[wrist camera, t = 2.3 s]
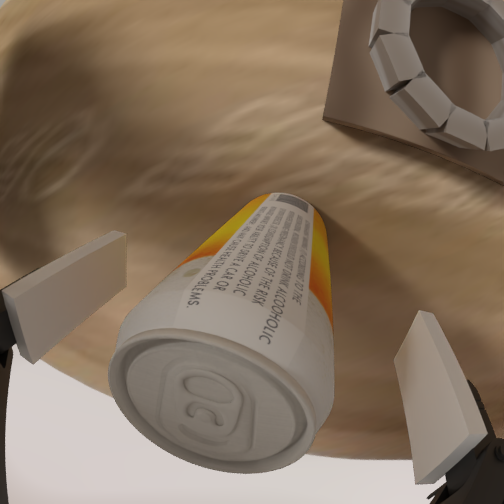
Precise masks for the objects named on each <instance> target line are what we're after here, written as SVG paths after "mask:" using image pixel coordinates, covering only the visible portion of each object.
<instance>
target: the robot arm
mask: <svg viewBox="0 0 504 504" xmlns="http://www.w3.org/2000/svg"><path fill="white" fill-rule="evenodd" d="M126 247H127V234H126V233H122V232H119V231H115V230H113V231H111V232H109V233H107V234H105V235H103V236H101V237H99V238H97V239H95V240H93V241H91V242H89V243H87V244H85V245H83V246H81V247H79V248H77V249H75V250H73V251H71V252H69V253H67V254H66V255H64V256H62V257H60V258H58V259H56V260H54V261H52V262H51V263H49V264H47V265H45V266H43V267H40V268H38V269H36V270H34V271H32V272H30V273H29V275H28V274H27V275H25V276H23V277H22V279H18V280H16V281H15V282H13V283H11V284H10V285H8V286H6V287H5V288H3V289H1V290H0V504H9V503H8V494H7V484H6V467H5V424H6V408H7V397H8V387H9V379H10V371H11V365H12V359H13V350H12V346H13V345H14V344H16V343H17V346H18V349H19V352H20V355H21V356H22V357H24V358H25V359H26V360H28V361H29V362H30V363H32V364H35V363H36V362H37V361H38V360H39V359H40V358H41V357H42V356H44V355H45V354H46V353H47V352H48V351H49V350H50V349H52V348H53V347H54V346H55V345H56V344H57V343H59V342H60V341H61V340H62V339H63V338H64V337H66V336H67V335H68V334H69V333H70V332H71V331H73V330H74V329H75V328H76V327H77V326H79V325H80V324H81V323H82V322H83V321H85V320H86V319H87V318H88V317H89V316H91V315H92V314H93V313H94V312H95V311H97V310H98V309H99V308H100V307H102V306H103V305H104V304H105V303H107V302H108V301H109V300H110V299H111V298H113V297H114V296H115V295H116V294H118V293H119V292H120V291H121V290H123V289H124V288H125V287H126ZM393 361H394V365H395V369H396V373H397V377H398V382H399V386H400V391H401V396H402V401H403V406H404V411H405V416H406V422H407V427H408V433H409V439H410V446H411V453H412V460H413V468H414V476H415V484H434V483H435V482H436V481H437V480H439V479H440V478H441V477H442V476H444V475H445V476H446V481H447V482H446V483H444V484H443V485H442V486H441V487H439V488H438V489H437V490H435V491H434V492H433V493H431V494H430V495H429V496H428V497H427V499H430V498H431V497H433V496H434V495H435V497H434V498H433V500H432V501H431V503H430V504H504V439H502V438H496V436H495V433H494V430H493V428H492V425H491V422H490V420H489V417H488V415H487V412H486V410H484V408H485V407H484V405H483V403H482V402H481V398H480V396H479V393H478V391H477V389H476V388H475V387H474V385H473V384H472V383H471V382H470V381H469V380H466V378H465V376H464V374H463V371H462V369H461V367H460V365H459V363H458V361H457V359H456V357H455V354H454V352H453V350H452V348H451V346H450V344H449V342H448V340H447V338H446V337H445V335H444V333H443V331H442V329H441V327H440V325H439V323H438V321H437V319H436V318H435V316H434V314H433V313H430V312H425V311H421V310H419V311H418V313H417V315H416V317H415V319H414V321H413V323H412V325H411V327H410V329H409V331H408V333H407V335H406V337H405V339H404V341H403V343H402V345H401V347H400V349H399V350H398V352H397V354H396V356H395V358H394V360H393Z"/></svg>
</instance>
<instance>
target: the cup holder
mask: <svg viewBox="0 0 504 504" xmlns="http://www.w3.org/2000/svg"><path fill="white" fill-rule="evenodd" d="M322 120H325V121H329V122H333V123H337V124H341V125H345V126H348V127H352V128H356V129H359V130H363V131H366V132H370V133H373V134H376V135H379V136H383V137H386V138H389V139H392V140H395V141H398V142H401V143H404V144H407V145H410V146H412V147H415V148H418V149H421V150H423V151H426V152H429V153H431V154H434V155H436V156H439V157H441V158H444V159H446V160H449V161H451V162H454V163H456V164H458V165H461V166H463V167H465V168H467V169H470V170H472V171H474V172H476V173H478V174H481V175H483V176H485V177H487V178H489V179H491V180H493V181H495V182H497V183H499V184H501V185H503V186H504V1H503V0H343V7H342V13H341V20H340V26H339V32H338V38H337V44H336V50H335V56H334V61H333V67H332V72H331V78H330V83H329V89H328V94H327V99H326V104H325V109H324V114H323V119H322Z"/></svg>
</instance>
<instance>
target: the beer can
mask: <svg viewBox="0 0 504 504" xmlns="http://www.w3.org/2000/svg"><path fill="white" fill-rule="evenodd" d="M108 381H109V386H110V390H111V392H112V395H113V397H114V399H115V402H116V403H117V405H118V407H119V408H120V410H121V411H122V413H123V414H124V415H125V417H126V418H127V419H128V420H129V422H130V423H131V424H132V425H133V426H134V427H135V428H136V429H137V430H138V431H139V432H140V433H142V434H143V435H144V436H145V437H146V438H148V439H149V440H151V442H153V443H154V444H156V445H157V446H159V447H160V448H162V449H163V450H165V451H167V452H169V453H170V454H172V455H174V456H176V457H178V458H181V459H183V460H185V461H187V462H190V463H192V464H195V465H198V466H201V467H205V468H208V469H213V470H217V471H223V472H230V473H243V474H250V473H263V472H269V471H273V470H277V469H281V468H283V467H286V466H288V465H290V464H292V463H294V462H296V461H297V460H299V459H300V458H301V457H302V456H303V455H304V454H305V453H306V452H307V451H308V450H309V448H310V447H311V445H312V443H313V441H314V438H315V434H316V433H317V432H318V430H319V429H320V428H321V426H322V425H323V423H324V422H325V421H326V419H327V417H328V415H329V414H330V411H331V409H332V406H333V401H334V338H333V313H332V295H331V279H330V266H329V254H328V242H327V232H326V228H325V225H324V222H323V220H322V218H321V216H320V215H319V213H318V212H317V211H316V210H315V208H314V207H313V206H312V205H310V204H309V203H308V202H307V201H305V200H303V199H302V198H300V197H297V196H295V195H292V194H288V193H269V194H265V195H262V196H259V197H257V198H255V199H254V200H252V201H251V202H249V203H248V204H247V205H246V206H245V207H243V208H242V209H241V210H240V211H239V212H238V213H237V214H235V215H234V216H233V217H232V218H231V219H230V220H229V221H227V222H226V223H225V224H224V225H223V226H222V227H221V228H220V229H218V230H217V231H216V232H215V233H214V234H213V235H212V236H211V237H210V238H208V239H207V240H206V241H205V242H204V243H203V244H202V245H201V246H200V247H198V248H197V249H196V250H195V251H194V252H193V253H192V254H191V255H190V256H189V257H187V258H186V259H185V260H184V261H183V262H182V263H181V264H180V265H179V266H178V267H177V268H176V269H174V270H173V271H172V272H171V273H170V274H169V275H168V276H167V277H166V278H165V279H164V280H163V281H162V282H161V283H159V284H158V285H157V286H156V287H155V288H154V289H153V290H152V291H151V292H150V293H149V294H148V295H147V296H146V297H145V298H144V299H143V300H142V301H140V302H139V303H138V304H137V305H136V306H135V307H134V308H133V309H132V310H131V311H130V312H129V314H128V315H127V316H126V317H125V319H124V321H123V323H122V325H121V327H120V330H119V333H118V339H117V344H116V350H115V353H114V354H113V356H112V358H111V360H110V364H109V368H108Z"/></svg>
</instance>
